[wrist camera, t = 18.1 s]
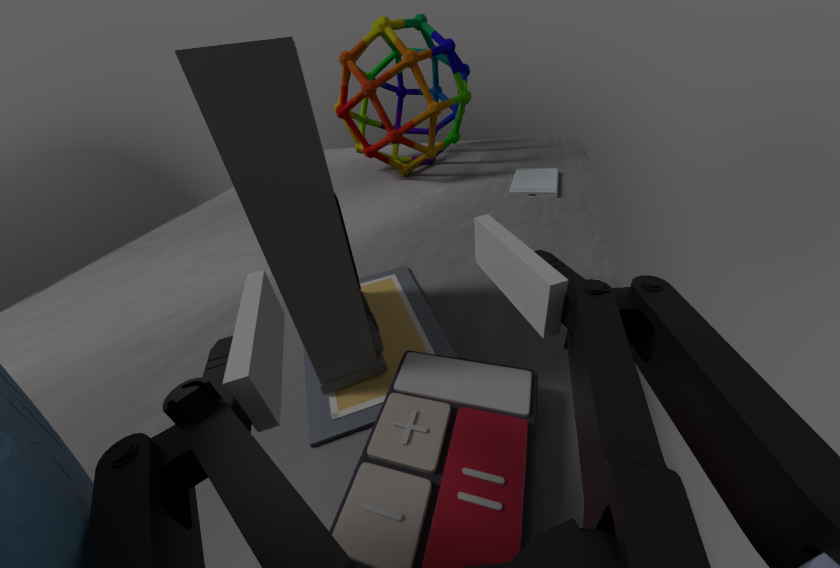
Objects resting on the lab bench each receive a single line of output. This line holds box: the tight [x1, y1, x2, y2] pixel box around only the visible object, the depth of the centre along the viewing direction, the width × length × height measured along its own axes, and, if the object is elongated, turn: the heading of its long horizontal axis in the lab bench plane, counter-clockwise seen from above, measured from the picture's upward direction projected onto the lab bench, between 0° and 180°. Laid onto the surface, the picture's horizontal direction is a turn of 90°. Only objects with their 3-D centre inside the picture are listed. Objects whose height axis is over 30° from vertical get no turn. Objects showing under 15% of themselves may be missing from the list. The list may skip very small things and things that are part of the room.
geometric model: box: [334, 14, 471, 176], centre depth 73 cm, size 30×30×30 cm
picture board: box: [304, 266, 459, 447], centre depth 36 cm, size 14×21×1 cm, turn 18°
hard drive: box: [509, 168, 558, 198], centre depth 64 cm, size 2×8×12 cm
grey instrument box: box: [175, 37, 388, 395], centre depth 28 cm, size 14×6×25 cm, turn 22°
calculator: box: [329, 351, 538, 568], centre depth 23 cm, size 11×4×15 cm
